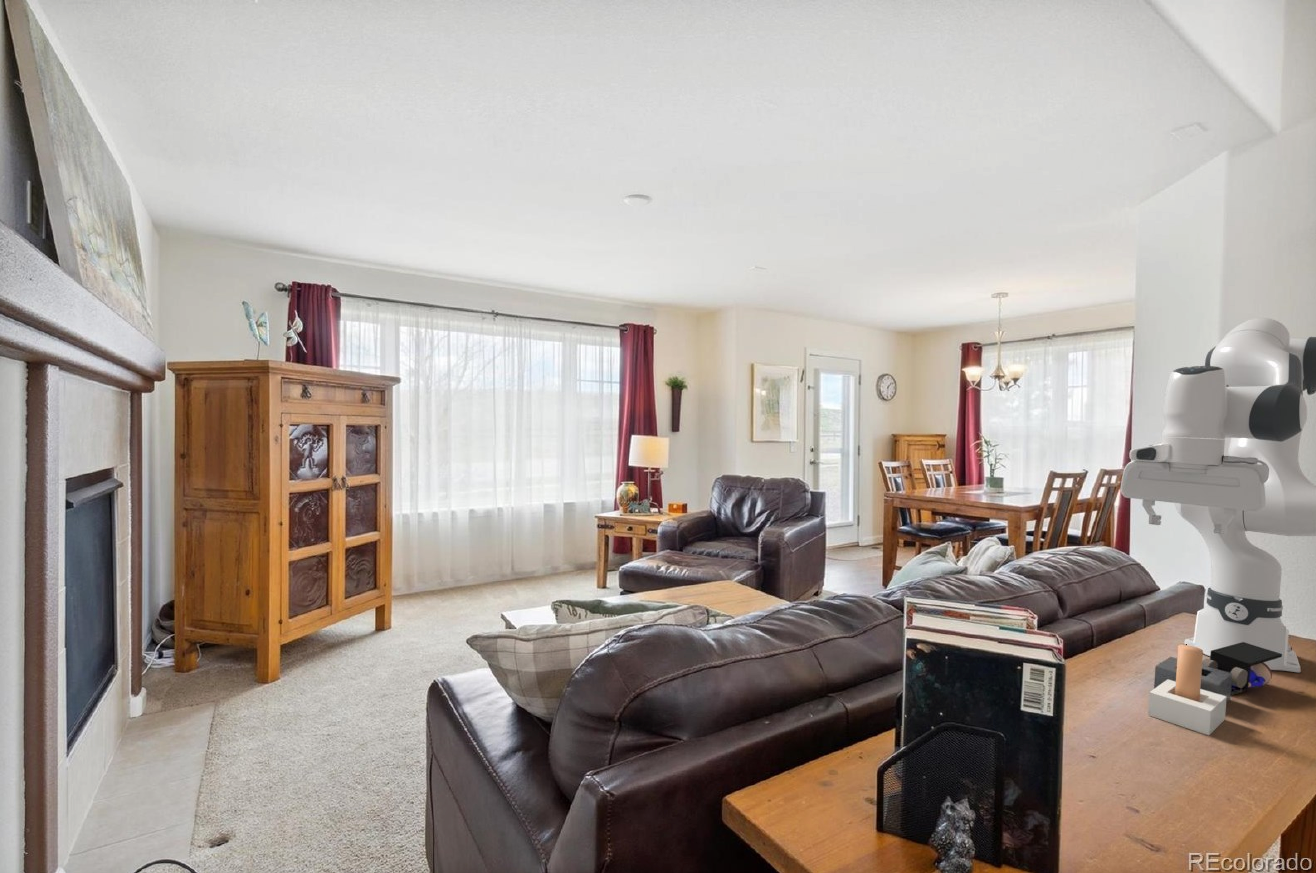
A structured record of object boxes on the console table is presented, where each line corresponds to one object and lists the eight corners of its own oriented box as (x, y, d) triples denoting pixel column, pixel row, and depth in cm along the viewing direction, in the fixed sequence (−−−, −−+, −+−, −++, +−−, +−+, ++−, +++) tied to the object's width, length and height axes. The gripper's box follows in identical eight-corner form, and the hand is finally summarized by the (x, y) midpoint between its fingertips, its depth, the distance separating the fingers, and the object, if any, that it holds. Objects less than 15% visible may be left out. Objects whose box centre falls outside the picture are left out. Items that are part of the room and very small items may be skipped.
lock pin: (1176, 711, 108) (1181, 643, 108) (1200, 718, 105) (1205, 649, 105) (1171, 715, 106) (1175, 647, 106) (1195, 723, 104) (1200, 653, 103)
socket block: (1166, 701, 112) (1167, 679, 112) (1224, 719, 106) (1226, 696, 105) (1147, 715, 106) (1149, 692, 106) (1208, 735, 100) (1210, 711, 99)
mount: (1168, 681, 121) (1170, 656, 121) (1230, 700, 114) (1232, 673, 113) (1153, 692, 115) (1155, 666, 115) (1217, 712, 108) (1219, 684, 108)
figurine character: (1241, 708, 114) (1283, 687, 120) (1241, 668, 113) (1284, 649, 119) (1196, 692, 120) (1239, 673, 126) (1197, 654, 119) (1239, 637, 125)
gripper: (1273, 458, 107) (1268, 537, 107) (1131, 450, 123) (1126, 519, 124) (1265, 458, 103) (1260, 540, 104) (1119, 450, 120) (1115, 521, 120)
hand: (1186, 528), depth 114 cm, fingers open, 8 cm apart
